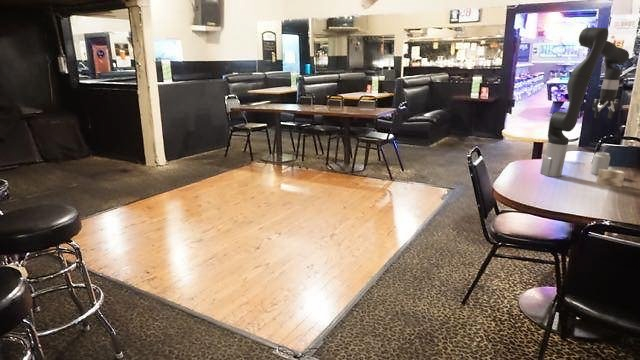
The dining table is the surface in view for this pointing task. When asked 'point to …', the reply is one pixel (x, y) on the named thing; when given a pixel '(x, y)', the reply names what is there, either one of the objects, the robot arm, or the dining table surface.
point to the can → (600, 162)
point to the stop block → (610, 177)
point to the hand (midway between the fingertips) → (602, 118)
